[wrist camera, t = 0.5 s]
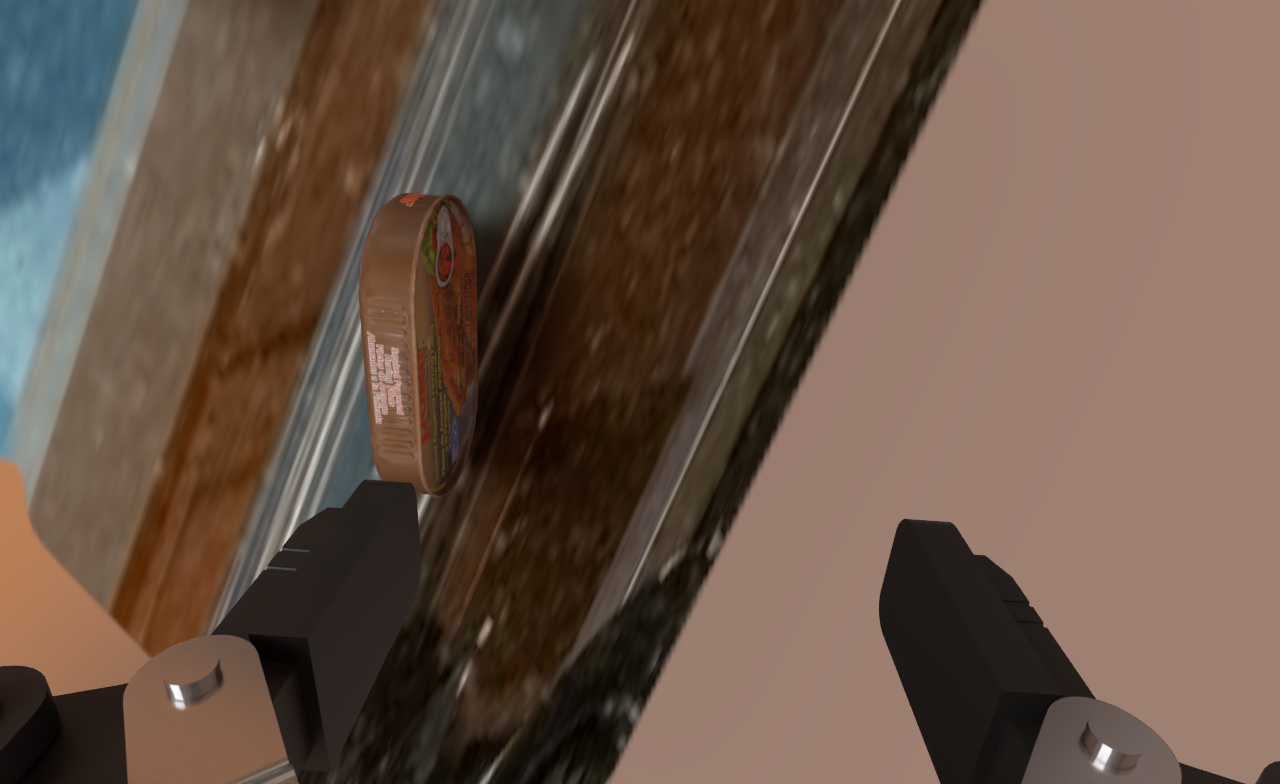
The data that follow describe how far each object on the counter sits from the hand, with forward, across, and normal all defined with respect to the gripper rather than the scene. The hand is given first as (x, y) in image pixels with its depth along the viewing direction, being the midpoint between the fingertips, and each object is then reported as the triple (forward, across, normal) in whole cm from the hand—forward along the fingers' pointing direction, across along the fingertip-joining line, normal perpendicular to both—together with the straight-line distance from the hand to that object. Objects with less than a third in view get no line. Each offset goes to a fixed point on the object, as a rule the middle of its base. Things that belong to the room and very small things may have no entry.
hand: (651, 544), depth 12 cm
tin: (+26, +11, +6) cm, 29 cm away
